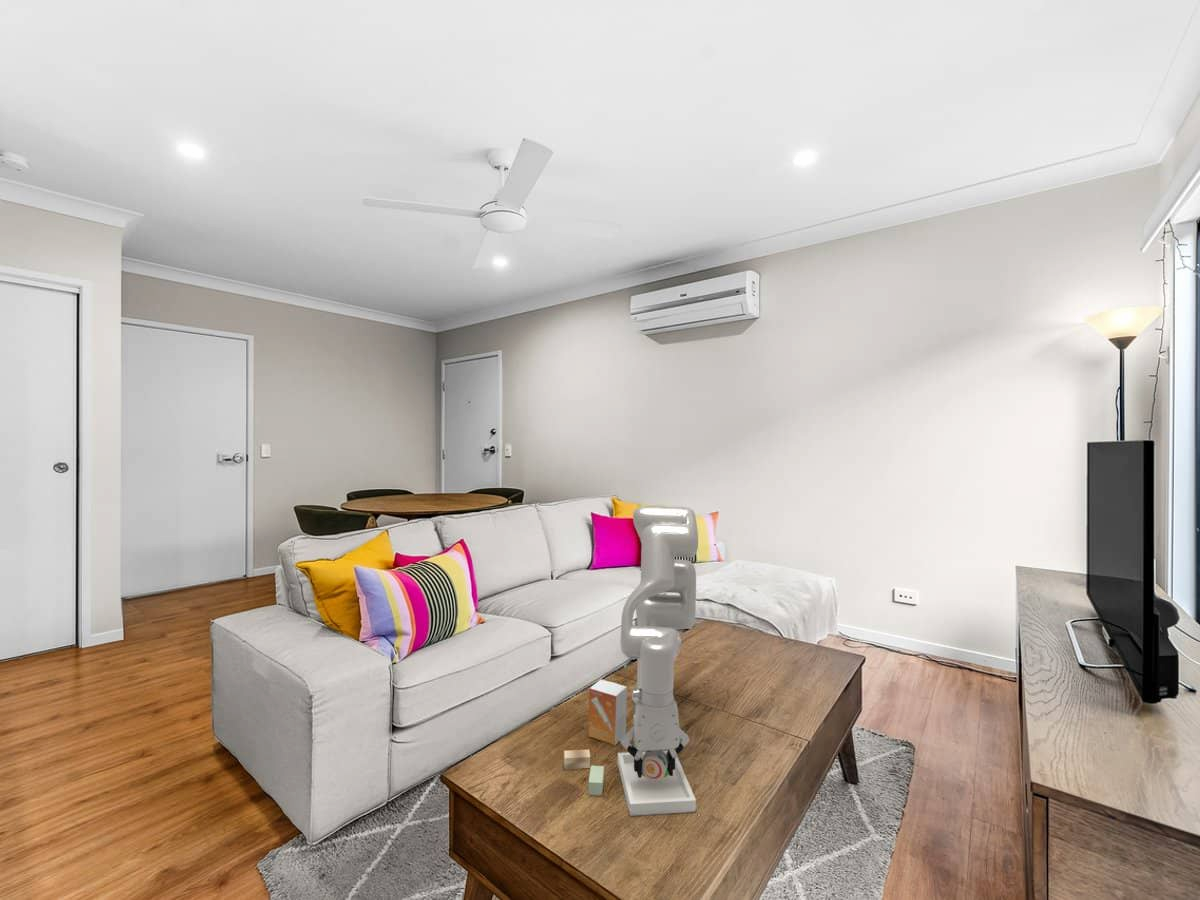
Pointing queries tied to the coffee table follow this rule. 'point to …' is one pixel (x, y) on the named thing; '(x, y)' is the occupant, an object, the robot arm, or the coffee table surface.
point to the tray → (655, 790)
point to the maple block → (576, 759)
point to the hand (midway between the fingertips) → (654, 772)
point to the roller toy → (655, 765)
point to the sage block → (596, 780)
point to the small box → (607, 711)
